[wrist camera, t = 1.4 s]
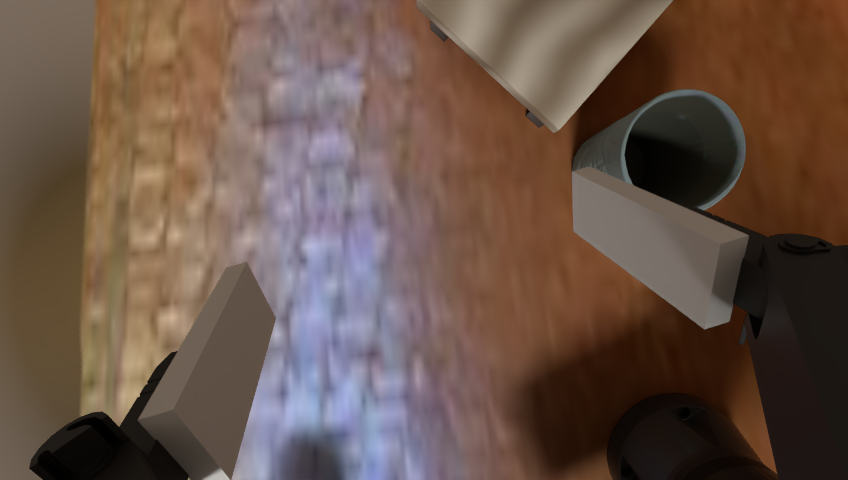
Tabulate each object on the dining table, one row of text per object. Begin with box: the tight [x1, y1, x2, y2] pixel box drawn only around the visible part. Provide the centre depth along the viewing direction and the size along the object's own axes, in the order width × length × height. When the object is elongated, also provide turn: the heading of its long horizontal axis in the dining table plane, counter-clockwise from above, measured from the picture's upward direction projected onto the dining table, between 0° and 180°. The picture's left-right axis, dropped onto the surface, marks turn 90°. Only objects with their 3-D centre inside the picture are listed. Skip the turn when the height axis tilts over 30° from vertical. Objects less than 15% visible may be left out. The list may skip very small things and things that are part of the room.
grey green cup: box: [572, 89, 746, 210], centre depth 36 cm, size 10×10×12 cm
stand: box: [417, 0, 673, 133], centre depth 37 cm, size 18×18×6 cm
